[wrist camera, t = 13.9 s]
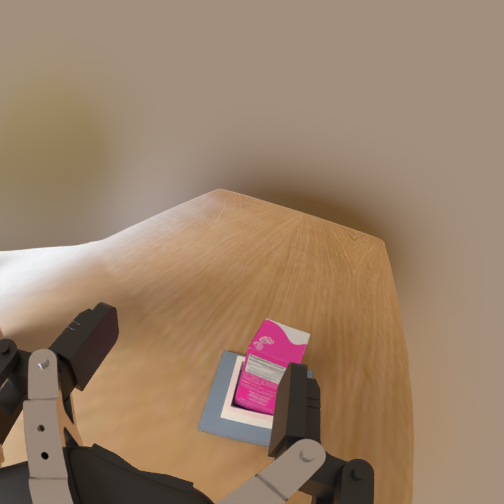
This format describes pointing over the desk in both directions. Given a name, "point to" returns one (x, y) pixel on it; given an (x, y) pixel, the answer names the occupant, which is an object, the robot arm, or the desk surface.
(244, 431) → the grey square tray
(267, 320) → the supplement box
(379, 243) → the desk surface
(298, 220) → the desk surface
